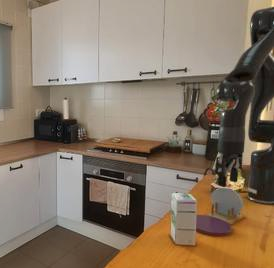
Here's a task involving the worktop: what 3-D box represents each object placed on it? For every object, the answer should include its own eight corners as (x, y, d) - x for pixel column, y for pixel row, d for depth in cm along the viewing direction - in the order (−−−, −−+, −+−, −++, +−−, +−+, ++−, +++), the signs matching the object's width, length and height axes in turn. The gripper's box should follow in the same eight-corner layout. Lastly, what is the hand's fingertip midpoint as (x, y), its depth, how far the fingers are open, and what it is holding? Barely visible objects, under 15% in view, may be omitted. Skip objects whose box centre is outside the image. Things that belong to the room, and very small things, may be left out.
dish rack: (220, 210, 105) (221, 197, 104) (243, 217, 98) (245, 204, 98) (206, 217, 99) (207, 204, 99) (230, 225, 93) (231, 211, 92)
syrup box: (196, 246, 81) (198, 200, 79) (174, 244, 83) (176, 199, 80) (189, 236, 87) (191, 193, 85) (169, 235, 88) (171, 192, 86)
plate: (211, 209, 103) (213, 184, 102) (242, 219, 95) (244, 191, 93) (209, 210, 103) (211, 184, 101) (240, 220, 94) (242, 192, 93)
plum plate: (198, 214, 102) (198, 211, 101) (238, 228, 91) (239, 225, 90) (178, 224, 95) (178, 221, 95) (219, 240, 84) (219, 237, 84)
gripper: (234, 142, 88) (230, 190, 90) (253, 138, 95) (249, 182, 97) (209, 139, 94) (206, 184, 96) (228, 135, 101) (225, 177, 104)
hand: (227, 183), depth 97 cm, fingers open, 8 cm apart
